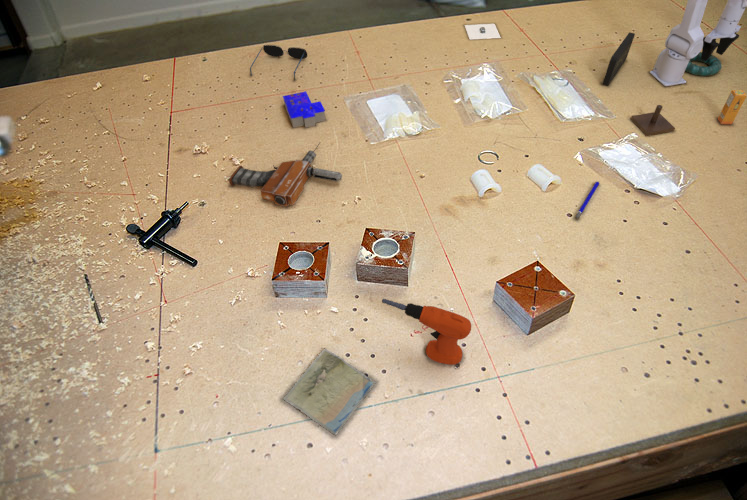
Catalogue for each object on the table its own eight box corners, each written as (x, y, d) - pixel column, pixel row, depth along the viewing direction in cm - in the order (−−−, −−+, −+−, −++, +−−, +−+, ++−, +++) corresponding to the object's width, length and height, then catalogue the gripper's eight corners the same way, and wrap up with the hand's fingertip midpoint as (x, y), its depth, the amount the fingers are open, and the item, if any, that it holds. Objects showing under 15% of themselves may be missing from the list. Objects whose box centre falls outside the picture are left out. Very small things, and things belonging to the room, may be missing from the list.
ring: (670, 61, 185) (673, 53, 183) (703, 56, 187) (707, 48, 185) (693, 79, 177) (696, 71, 175) (727, 74, 178) (731, 66, 176)
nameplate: (607, 86, 176) (616, 59, 168) (601, 85, 176) (611, 57, 169) (626, 59, 187) (635, 32, 179) (620, 58, 188) (630, 31, 180)
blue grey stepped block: (293, 130, 164) (291, 116, 160) (283, 105, 174) (281, 91, 170) (327, 123, 167) (325, 108, 163) (315, 99, 176) (313, 84, 172)
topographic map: (282, 398, 104) (281, 395, 103) (324, 348, 111) (324, 345, 110) (335, 437, 99) (335, 434, 98) (376, 382, 106) (376, 378, 105)
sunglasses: (308, 59, 194) (306, 47, 190) (296, 85, 186) (293, 73, 182) (265, 55, 197) (262, 43, 193) (251, 80, 189) (247, 68, 185)
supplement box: (727, 118, 162) (743, 89, 154) (731, 124, 159) (748, 95, 152) (716, 118, 162) (732, 89, 155) (720, 124, 160) (736, 95, 152)
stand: (630, 119, 163) (637, 100, 158) (656, 114, 164) (664, 95, 159) (646, 135, 157) (654, 116, 152) (673, 131, 158) (682, 112, 153)
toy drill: (380, 322, 114) (387, 282, 102) (463, 350, 111) (480, 313, 100) (372, 340, 111) (379, 301, 99) (458, 370, 108) (475, 333, 97)
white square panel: (494, 23, 208) (495, 19, 207) (500, 37, 200) (501, 34, 199) (464, 25, 208) (464, 21, 207) (469, 39, 200) (470, 35, 199)
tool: (221, 184, 144) (320, 203, 135) (267, 128, 160) (358, 142, 152) (226, 195, 146) (323, 215, 138) (270, 139, 163) (360, 154, 155)
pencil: (577, 219, 135) (578, 217, 134) (574, 218, 135) (575, 215, 134) (599, 183, 144) (600, 180, 143) (596, 181, 144) (597, 179, 143)
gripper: (725, 28, 167) (707, 67, 177) (756, 16, 171) (735, 55, 181) (707, 19, 171) (689, 58, 181) (736, 8, 175) (718, 47, 185)
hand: (711, 56), depth 181 cm, fingers open, 7 cm apart
